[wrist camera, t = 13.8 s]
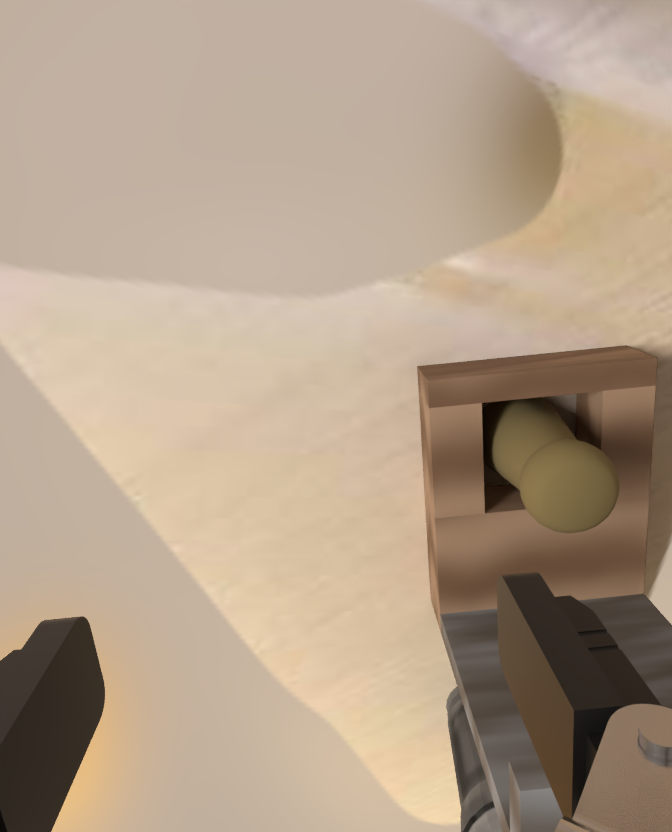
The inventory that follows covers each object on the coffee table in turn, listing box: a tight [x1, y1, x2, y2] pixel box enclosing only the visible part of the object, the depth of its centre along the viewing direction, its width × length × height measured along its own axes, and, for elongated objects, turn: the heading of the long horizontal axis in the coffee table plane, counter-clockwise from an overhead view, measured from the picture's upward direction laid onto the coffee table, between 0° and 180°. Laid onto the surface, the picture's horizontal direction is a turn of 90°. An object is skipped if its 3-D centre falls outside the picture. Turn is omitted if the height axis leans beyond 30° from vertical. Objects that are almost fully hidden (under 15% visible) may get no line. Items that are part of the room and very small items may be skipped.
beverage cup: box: [446, 687, 502, 832], centre depth 40 cm, size 7×7×20 cm
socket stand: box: [417, 346, 672, 832], centre depth 34 cm, size 18×14×22 cm
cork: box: [482, 397, 619, 533], centre depth 38 cm, size 6×6×11 cm
